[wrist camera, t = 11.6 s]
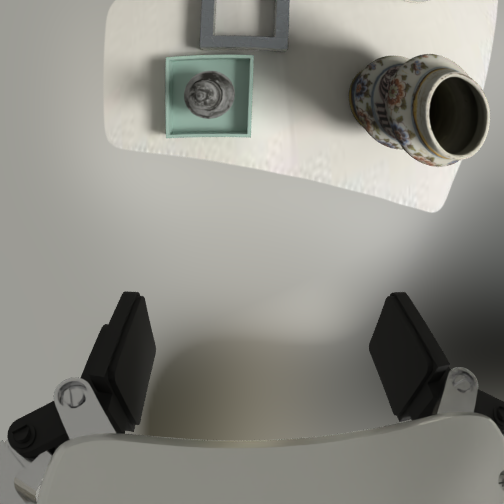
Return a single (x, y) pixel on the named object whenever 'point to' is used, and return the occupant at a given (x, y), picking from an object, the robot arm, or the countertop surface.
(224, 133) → the tray
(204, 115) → the salt shaker
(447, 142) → the apothecary jar
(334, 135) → the countertop surface
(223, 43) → the grey square frame
